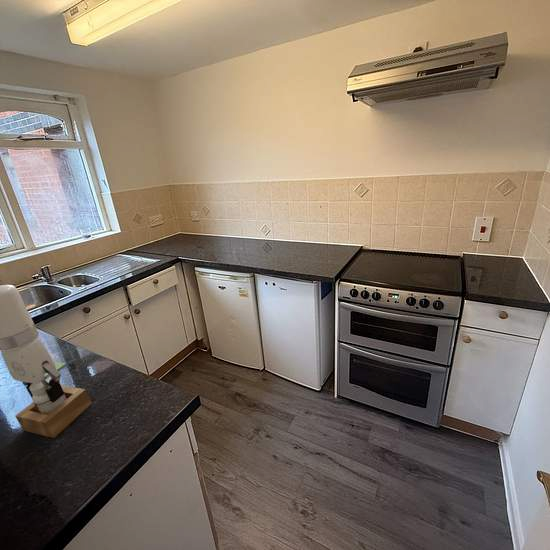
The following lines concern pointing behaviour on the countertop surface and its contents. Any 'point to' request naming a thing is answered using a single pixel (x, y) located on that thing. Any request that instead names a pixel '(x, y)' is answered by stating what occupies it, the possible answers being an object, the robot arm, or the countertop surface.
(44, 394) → the pill bottle
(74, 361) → the countertop surface
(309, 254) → the countertop surface
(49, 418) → the box
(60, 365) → the mat
